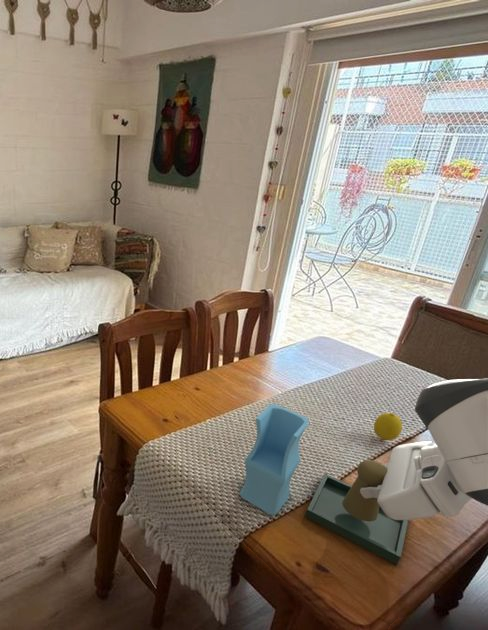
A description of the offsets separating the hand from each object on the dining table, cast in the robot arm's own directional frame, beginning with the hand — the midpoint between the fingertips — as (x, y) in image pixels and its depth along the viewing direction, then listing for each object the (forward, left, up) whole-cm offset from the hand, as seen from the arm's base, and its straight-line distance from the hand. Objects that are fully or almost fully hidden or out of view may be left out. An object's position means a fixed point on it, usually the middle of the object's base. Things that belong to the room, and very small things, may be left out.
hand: (364, 484), depth 85 cm
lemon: (-1, -33, -9) cm, 34 cm away
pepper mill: (-1, 0, -6) cm, 6 cm away
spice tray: (-1, 0, -9) cm, 9 cm away
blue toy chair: (+15, +7, -9) cm, 19 cm away
